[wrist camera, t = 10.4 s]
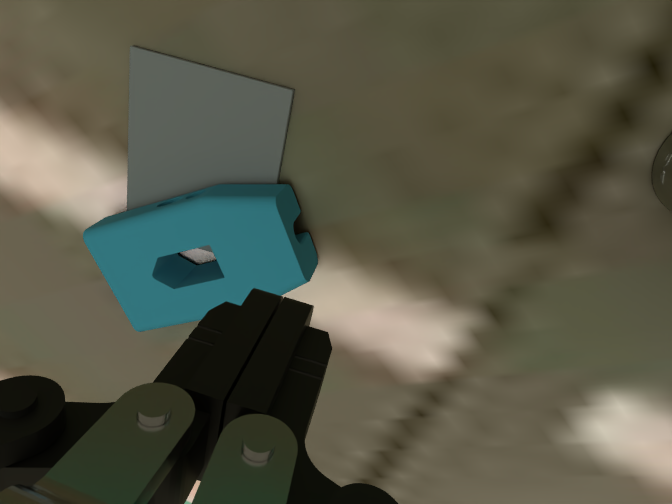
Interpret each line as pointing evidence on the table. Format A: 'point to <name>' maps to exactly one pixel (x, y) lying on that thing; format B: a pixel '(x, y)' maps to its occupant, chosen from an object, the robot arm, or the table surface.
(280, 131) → the mat
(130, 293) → the block
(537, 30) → the table surface
